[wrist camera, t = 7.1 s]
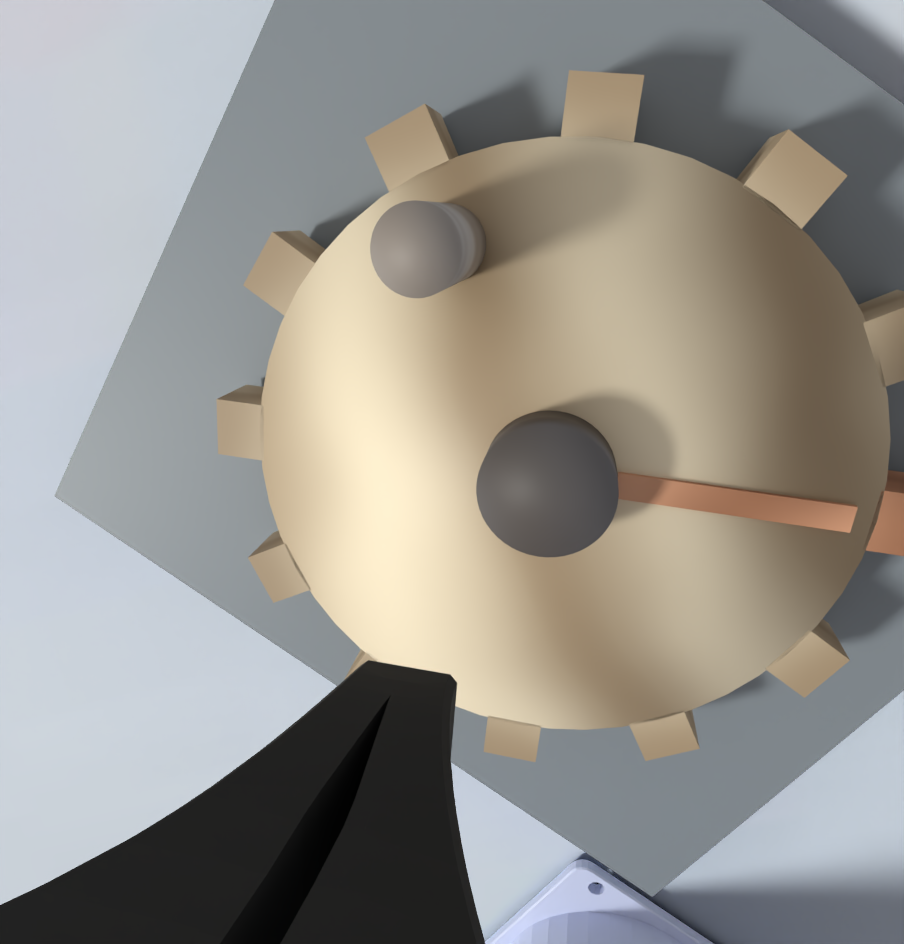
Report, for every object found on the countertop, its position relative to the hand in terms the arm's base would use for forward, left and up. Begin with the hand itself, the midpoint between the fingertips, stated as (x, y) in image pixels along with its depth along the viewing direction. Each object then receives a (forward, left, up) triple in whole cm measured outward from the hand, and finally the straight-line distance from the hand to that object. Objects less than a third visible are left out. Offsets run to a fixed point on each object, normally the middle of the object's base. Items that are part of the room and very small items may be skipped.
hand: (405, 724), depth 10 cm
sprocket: (-1, -2, -9) cm, 9 cm away
